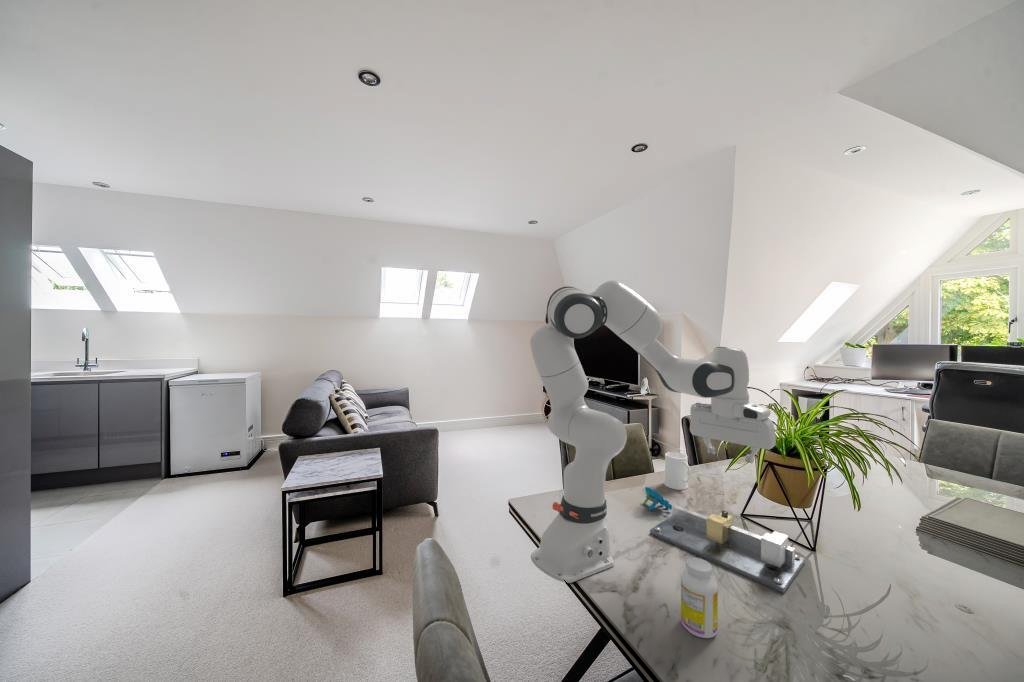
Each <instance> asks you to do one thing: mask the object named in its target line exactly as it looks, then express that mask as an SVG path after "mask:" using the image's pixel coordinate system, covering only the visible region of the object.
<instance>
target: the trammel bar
mask: <svg viewBox="0 0 1024 682" xmlns="http://www.w3.org/2000/svg"><path fill="white" fill-rule="evenodd" d="M671 516H672V520H675V521H677V522H680V523H682V524H685V525H687V526H690V527H692V528H695V529H697V530H700V531H702V532H705V533H707V518H708V517H709V516H707V515H705V514H701V513H699V512H696V511H693V510H691V509H687V508H685V507H682V506H679V505H677V504H673V505H672V509H671ZM726 541H728V542H730V543H733V544H735V545H738V546H740V547H743V548H745V549H748V550H750V551H753V552H755V553H758V554H760V555H761V560H763V561H765V562H768V563H770V567H771V568H773V569H775V566H778V567H781V566H782V564H786V565H788V566H791V567H793V565H794V563H795V554H796V551H795V549H796V548H795V547H792V546H789V545H788V544H789V535H787V534H784V533H781V532H779V531H776V530H773V532H772V533H769V532H765V533H764V534H763V535H759V534H757V533H754V532H752V531H748V530H747V529H743V528H740V527H737V526H735V525H733V524H731V525H730V526H729V527H728V539H727V540H726Z"/></svg>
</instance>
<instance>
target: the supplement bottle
mask: <svg viewBox="0 0 1024 682" xmlns="http://www.w3.org/2000/svg"><path fill="white" fill-rule="evenodd" d="M685 564H686V565H685V568H686V569H685V570H683V572H682V573H681V575H680V621H681V624H682V626H683V627H684V629H685V630H687V632H689V633H690V634H692V635H693V636H695V637H698V638H700V639H701V638H703V639H711V638H714V637H716V635H717V634H718V629H719V628H718V627H719V625H718V624H719V623H718V616H719V615H718V614H719V613H718V612H719V611H718V608H719V607H718V605H719V604H718V602H719V601H718V600H719V599H718V598H719V597H718V596H719V593H718V591H719V589H718V588H719V586H718V582H717V580H716V579H715V577H714V576H712V575H713V567H712V565H711V563H710V562H709V561H707V560H705V559H704V558H700V557H693V556H692V557H688V558H687V559H686V561H685Z"/></svg>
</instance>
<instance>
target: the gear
mask: <svg viewBox="0 0 1024 682" xmlns="http://www.w3.org/2000/svg"><path fill="white" fill-rule="evenodd" d="M644 491H645V495H646V496H645V500H644V501H643V502H642V504H643V505H646V504H647V502H648V501H649V502H652V504H650V506H649V508H648V509H649V511H650V512H652V510H654V508H655V507H656V506H657V505H658V504H659V505H661V506H662V507H665V508H666V509H667V510H668V509H669V510H670V511H672V506H673V505H672V504H671V503H670V502H669V501H668V500H667V499H664V496H662V495H661V494H659V493H658V492H657V491H656V490H654V489H652V488H651V487H648V486H645V488H644Z"/></svg>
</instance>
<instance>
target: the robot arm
mask: <svg viewBox="0 0 1024 682" xmlns="http://www.w3.org/2000/svg"><path fill="white" fill-rule="evenodd" d="M654 307H655V306H653V305H651V304H650V303H649V302H648V301H647V300H646V299H644V298H643V296H641V295H640V294H639V293H637V292H636V291H634V290H633V289H631V288H630V287H628V286H627V285H625V284H624V283H622V282H621V281H618V280H609V281H606V282H604V283H602V284H601V285H599V286H598V287H597V288H596V289H595V290H594V291H592V292H590V293H587V292H584V290H581V289H580V288H577V287H574V286H563V287H560V288H557V289H556V290H554V291H553V292H552V294H551V295H550V297H549V299H548V302H547V305H546V311H545V312H546V315H545V319H544V321H545V323H546V325H545V326H543V327H540V328H538V329H537V330H536V331H535V332H534V333H533V334H532V336H531V338H530V340H529V344H530V345H529V346H530V349H531V353H532V358H533V361H534V365H535V368H536V369H537V371H538V375H539V377H540V380H541V381H542V384H543V387H544V389H545V391H546V394H547V396H548V399H549V403H550V412H549V413H548V414H549V415H548V417H547V426H548V428H549V431H550V432H551V434H553V435H554V436H555V437H556V438H557V439H559V440H560V441H561V442H563V443H565V444H568V445H571V446H574V448H575V455H574V459H573V461H571V462H570V463H568V464H566V466H565V468H564V470H563V495H562V497H561V501H560V503H559V502H557V501H554V502H553V503H552V505H551V508H552V510H553V511H556V512H557V513H558V514H557V515H556V516H555V518H554V519H553V520H552V522H551V523H549V525H548V526H547V528H546V529H545V530H544V532H543V533H542V535H541V538H540V545H539V547H538V548H536V549H534V551H532V552H531V553H530V560H531V562H532V563H533V564H534V566H535V567H536V568H537V569H538V570H540V571H541V572H543V573H544V574H546V575H547V576H549V577H551V578H552V579H554V580H557V581H559V582H563V583H566V582H567V584H571V583H574V582H577V581H579V580H581V579H584V578H586V577H589V576H592V575H594V574H596V573H599V572H601V571H605V570H607V569H610V568H612V567H614V565H615V560H614V557H612V551H611V541H610V532H609V528H608V527H609V526H608V523H607V520H606V516H607V510H608V505H607V500H606V478H607V476H606V474H607V471H608V467H609V465H610V462H611V461H612V459H613V458H614V457H617V456H618V455H619V454H620V453H621V452H622V451H623V450H624V448H625V446H626V444H627V440H628V433H627V428H626V426H625V424H624V423H623V422H622V421H621V420H619V419H618V418H617V417H615V416H613V415H611V414H609V413H607V412H604V411H601V410H596V409H591V408H590V407H589V406H588V405H587V403H586V401H585V397H584V396H585V395H586V393H587V392H588V389H589V380H588V378H587V376H586V374H585V371H584V368H583V365H582V364H581V361H580V359H579V356H578V354H577V351H576V349H575V344H574V341H575V340H574V339H583V338H586V337H588V336H590V335H591V334H592V333H594V332H595V331H596V330H597V329H599V328H600V327H602V326H606V327H607V328H608V329H609V330H610V331H611V332H613V333H614V334H615V335H616V336H617V337H619V338H620V339H621V340H622V341H623V342H625V343H626V344H628V345H629V346H630V347H631V348H632V349H633V350H634V351H635V352H636V353H637V354H638V355H639V356H640V357H641V358H642V359H643V360H644V361H645V362H646V363H647V364H649V366H650V367H651V368H653V370H654V371H655V372H656V374H657V375H658V378H659V380H660V382H661V383H662V385H663V386H664V387H665V388H666V389H667V390H668V391H670V392H674V393H680V394H686V395H690V396H693V397H697V398H704V399H708V398H710V404H709V403H701V402H696V403H694V404H692V405H691V406H690V415H691V417H690V423H689V432H690V433H691V435H692V436H697V437H700V438H701V437H702V441H703V443H704V444H705V446H706V448H707V454H710V455H715V454H716V450H717V449H716V447H715V446H713V445H712V442H711V441H712V439H713V440H717V441H722V442H726V443H733V444H736V445H742V446H747V447H750V449H749V450H750V451H751V453H750V454H749V453H748V454H746V455H745V458H744V459H745V462H746V463H749V464H754V462H755V455H757V453H758V452H759V450H760V449H762V450H771V449H773V448H774V447H776V445H777V444H776V443H777V441H776V440H777V439H776V430H775V425H774V422H773V421H772V420H771V418H769V417H770V416H771V410H770V408H768V407H765V406H763V405H761V404H758V403H756V402H753V401H751V400H750V395H749V392H748V385H749V381H750V369H749V366H750V365H749V361H748V356H747V354H746V352H745V351H744V350H742V349H740V348H737V347H727V346H717V347H716V346H715V347H714V348H713V350H712V351H710V353H709V354H708V355H706V356H704V357H702V358H699V359H691V358H684V357H679V356H676V355H674V354H672V353H671V352H670V351H669V350H668V349H667V348H666V347H665V346H664V345H663V344H662V343H661V342H660V341H659V340H658V338H659V336H660V335H661V332H662V330H663V318H662V315H660V313H659V312H658V311H657V309H656V308H654ZM564 580H565V581H566V582H565V581H564Z"/></svg>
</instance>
